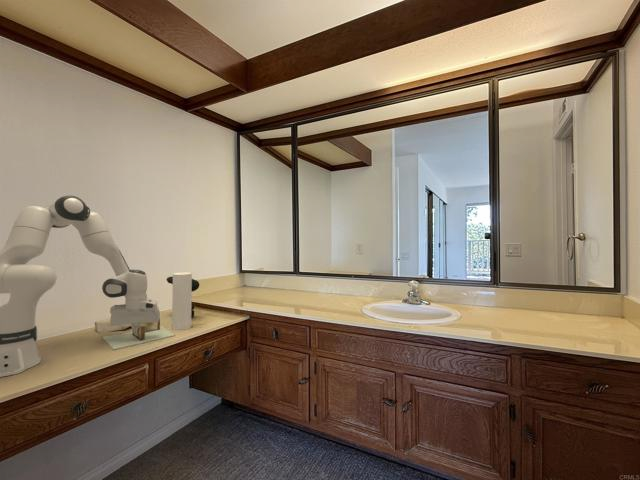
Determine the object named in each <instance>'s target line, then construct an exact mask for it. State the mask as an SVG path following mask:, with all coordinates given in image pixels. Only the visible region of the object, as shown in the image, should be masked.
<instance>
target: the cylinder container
mask: <svg viewBox="0 0 640 480" xmlns="http://www.w3.org/2000/svg"><path fill="white" fill-rule="evenodd" d="M192 276H193V275H192V272H187V271H186V272H185V271H182V272H174V273H172V277H173V284H172V313H171V314H172V317H171V318H172V319H171V321H172V324H171V325H172V330H176V331H181V330H183V331H184V330H188V329H190V328H191V327H192V318H191V306H192V293H193V291H192V279H193V278H192ZM187 328H188V329H187Z"/></svg>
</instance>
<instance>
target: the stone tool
mask: <svg viewBox="0 0 640 480" xmlns="http://www.w3.org/2000/svg"><path fill="white" fill-rule="evenodd" d="M110 319H111V317H108V318H103V319H101V320H98V321H97V320H95V322H94V328H95V329H94V330H95V332H97V333H99V334H100V333H108V332H110V333H111V332H116V331H122V330H123V331H124V330H127V329H128V328H132V327H131V324H124V325H111V324H110Z"/></svg>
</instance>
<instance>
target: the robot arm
mask: <svg viewBox="0 0 640 480" xmlns="http://www.w3.org/2000/svg"><path fill="white" fill-rule="evenodd" d="M70 225H72V226H73V227H74V228H75V229H76V230H77V231H78V234H79V236H80V238H81V241H82V243H83V245H84V247H85V248H86V250H87V252H90V253H92V254H94V255H97V256H99V257H100V256H101V257H103V259H105V260H107V262H109V264H110V266H111V269H112V270H113V272H114V274H115V276H113V277H110V278H108V279H106V280H105V281H104V282H103V284H102V286H101V290H102V293H103V294H104V295H105V296H106V297H108V298H111V299H113V298H121V297H124V298H125V302H124V303H125V304H114V305H112V306H111V307H110V309H109V311H110V312H109V313H110V318H111V319H110V324H111V325H124V324H131V327H130V328H132V331H133V333H137V332H138V327H139V326H140V323H152V322H158V321H159V320H160V321H161V315H160V314H161V313H160V308H159V307H158V301H157V300H154V299H149V298H148V295H147V291H148V276H147V274H146V272H145V271H143V270H140V269H130V267H129V266H128V264H127V261H126V260H125V258H124V255H123V254H122V253H121V250H120V248H119V247H118V246H117V244H116V243H115V241H114V239H113V237H112V234H111V232H110V229H109V227H108V225H107V223H106V221H105V220H104V218H103V217H102V216H101V214H100V213H98V212H96V211H95V212H94V211H91V209H90V207H89V206H87V205H86V203H85V202H84V201H83V200H82V199H81V198H80V197H78V196H75V195H65V196H64V195H63V196H61V197H59V198H57V199H56V200H55V201H53V202H51V203H50V204H49V205H48V206H46V207H42V206H39V205H29V206H25V207H24V208H23V209H22V210H21V211H20V213H19V214H18V215H17V217H16V219H15V221H14V223H13V225H12V227H11V230H10V233H9V235H8V237H7V240H6V242H5V244H4V246H3V248H2V249H1V250H0V294H10V295H9V299H8V301H7V303H5V304H2V305H1V306H0V378H4V377H7V376H14V375H18V374H20V373H22V372H24V371H26V370H28V369H30V368H32V367H35V366H37V365H38V364H39V363H40V362H41V361H42V359H41V357H40V354H39V350H38V346H37V340H38V327H37V326H36V311H37V306H38V303H39V302H40V299H41V298H42V297H43V296H44V294H45V293H47V292H48V291H49V290H51V289H52V288H53V287H54V286H55V284H56V282H57V279H58V278H57V276H58V275H57V272H56V271H55V269H54V268H52V267H51V266H47V265H42V264H34V263H33V264H31V263H30V264H28V263H29V262H30V261H31V260H32V259H35V258H37V257H39V256H41V255H42V254H43V253H44V252H45V249H46V246H47V243H48V239H49V236H50V233H51V229H53V228H55V229H62V228H66V227H68V226H70ZM135 324H136V326H137V328H135V326H134V325H135Z"/></svg>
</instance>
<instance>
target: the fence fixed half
mask: <svg viewBox="0 0 640 480" xmlns="http://www.w3.org/2000/svg"><path fill="white" fill-rule="evenodd" d="M140 326H141V327H142V326H145V332H146V331H150V330H155V329H157V330H159V329H160V326H161V319H160V320H159V321H158V322H152V323H140ZM133 335H134V333H133Z"/></svg>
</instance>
